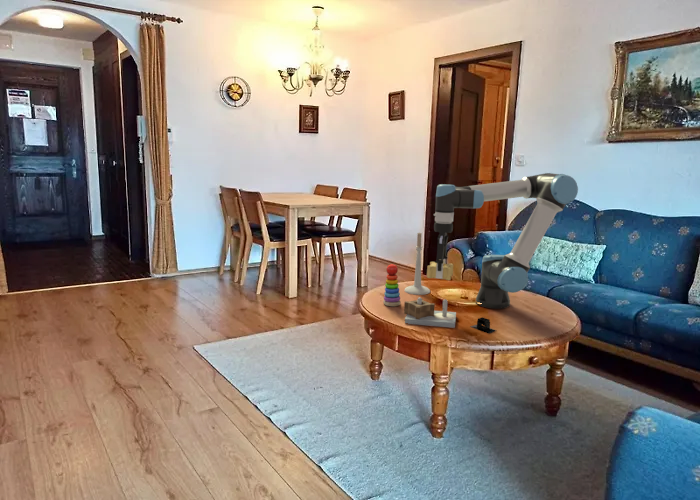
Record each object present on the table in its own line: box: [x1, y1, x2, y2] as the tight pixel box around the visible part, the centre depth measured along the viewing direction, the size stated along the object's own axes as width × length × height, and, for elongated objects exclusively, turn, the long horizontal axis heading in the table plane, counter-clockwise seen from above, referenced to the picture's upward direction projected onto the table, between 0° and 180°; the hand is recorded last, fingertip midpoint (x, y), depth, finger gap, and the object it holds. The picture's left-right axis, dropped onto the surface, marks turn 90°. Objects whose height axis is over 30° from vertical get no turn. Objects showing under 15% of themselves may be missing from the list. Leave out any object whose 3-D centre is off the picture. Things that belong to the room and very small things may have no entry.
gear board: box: [404, 296, 457, 329], centre depth 208 cm, size 20×14×9 cm
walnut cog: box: [403, 298, 436, 319], centre depth 209 cm, size 10×10×5 cm
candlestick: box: [404, 232, 431, 296], centre depth 248 cm, size 13×13×30 cm
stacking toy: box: [383, 263, 402, 307], centre depth 227 cm, size 8×8×19 cm
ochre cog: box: [426, 261, 454, 281], centre depth 210 cm, size 10×10×5 cm
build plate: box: [469, 316, 498, 335], centre depth 199 cm, size 12×7×5 cm, turn 37°
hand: (440, 275), depth 211 cm, fingers closed on ochre cog, 8 cm apart
